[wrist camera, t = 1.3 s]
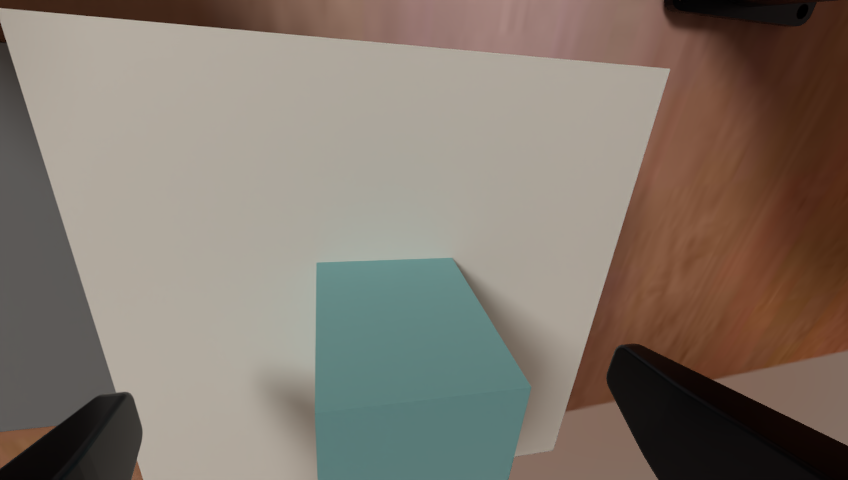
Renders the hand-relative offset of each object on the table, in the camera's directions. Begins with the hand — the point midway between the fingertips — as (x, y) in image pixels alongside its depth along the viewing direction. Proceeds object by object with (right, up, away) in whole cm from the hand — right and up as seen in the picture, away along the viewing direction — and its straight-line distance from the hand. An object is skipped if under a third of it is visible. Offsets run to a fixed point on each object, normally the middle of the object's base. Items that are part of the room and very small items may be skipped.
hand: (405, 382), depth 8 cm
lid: (-1, +2, +4) cm, 4 cm away
